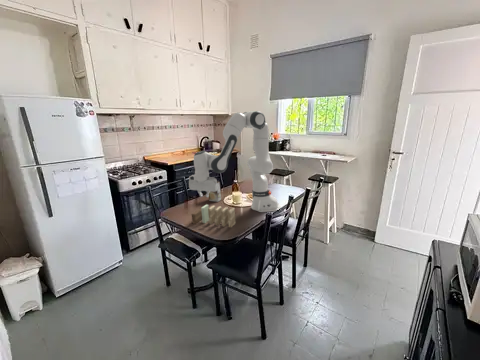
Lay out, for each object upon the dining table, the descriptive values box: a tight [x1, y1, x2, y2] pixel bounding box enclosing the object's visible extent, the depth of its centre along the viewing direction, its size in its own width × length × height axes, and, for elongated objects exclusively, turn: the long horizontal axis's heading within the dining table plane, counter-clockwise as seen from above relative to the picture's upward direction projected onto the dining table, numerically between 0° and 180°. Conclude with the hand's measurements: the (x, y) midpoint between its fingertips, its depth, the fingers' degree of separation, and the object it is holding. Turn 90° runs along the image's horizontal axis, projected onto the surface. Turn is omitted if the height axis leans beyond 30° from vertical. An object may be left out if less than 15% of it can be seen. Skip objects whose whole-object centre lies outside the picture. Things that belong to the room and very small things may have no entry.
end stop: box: [191, 206, 203, 225], centre depth 160 cm, size 3×12×7 cm, turn 157°
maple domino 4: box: [228, 207, 236, 229], centre depth 149 cm, size 2×6×11 cm, turn 157°
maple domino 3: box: [221, 206, 229, 228], centre depth 151 cm, size 2×6×11 cm, turn 157°
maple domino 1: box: [208, 204, 216, 225], centre depth 155 cm, size 2×6×11 cm, turn 157°
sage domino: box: [200, 204, 210, 224], centre depth 157 cm, size 2×6×11 cm, turn 157°
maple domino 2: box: [214, 205, 223, 226], centre depth 153 cm, size 2×6×11 cm, turn 157°
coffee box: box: [208, 181, 222, 203], centre depth 196 cm, size 9×6×16 cm
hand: (204, 196), depth 154 cm, fingers open, 3 cm apart
